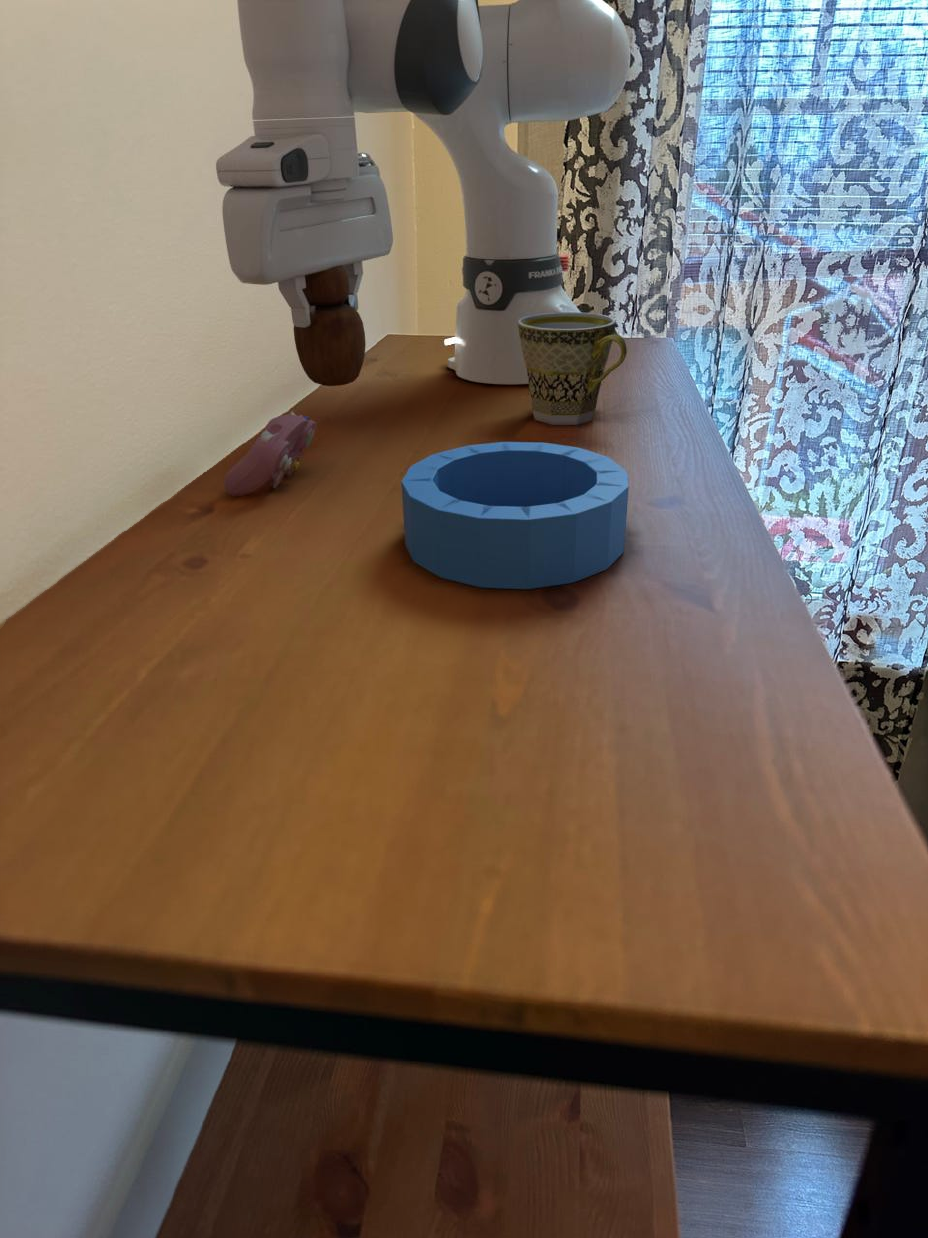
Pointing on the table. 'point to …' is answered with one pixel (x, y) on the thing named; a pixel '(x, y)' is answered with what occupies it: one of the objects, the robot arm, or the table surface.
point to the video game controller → (271, 455)
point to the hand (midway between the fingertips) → (326, 318)
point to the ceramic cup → (567, 363)
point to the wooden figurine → (331, 331)
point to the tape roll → (515, 514)
